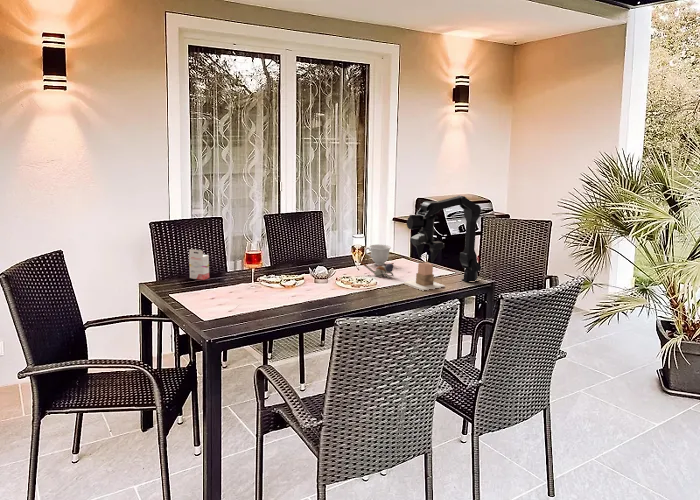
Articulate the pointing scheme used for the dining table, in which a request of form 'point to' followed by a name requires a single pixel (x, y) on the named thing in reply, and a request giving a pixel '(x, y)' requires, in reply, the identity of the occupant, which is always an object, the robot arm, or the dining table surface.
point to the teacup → (379, 253)
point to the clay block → (425, 268)
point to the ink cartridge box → (198, 265)
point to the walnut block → (424, 279)
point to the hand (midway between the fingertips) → (425, 259)
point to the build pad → (420, 287)
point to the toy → (381, 270)
